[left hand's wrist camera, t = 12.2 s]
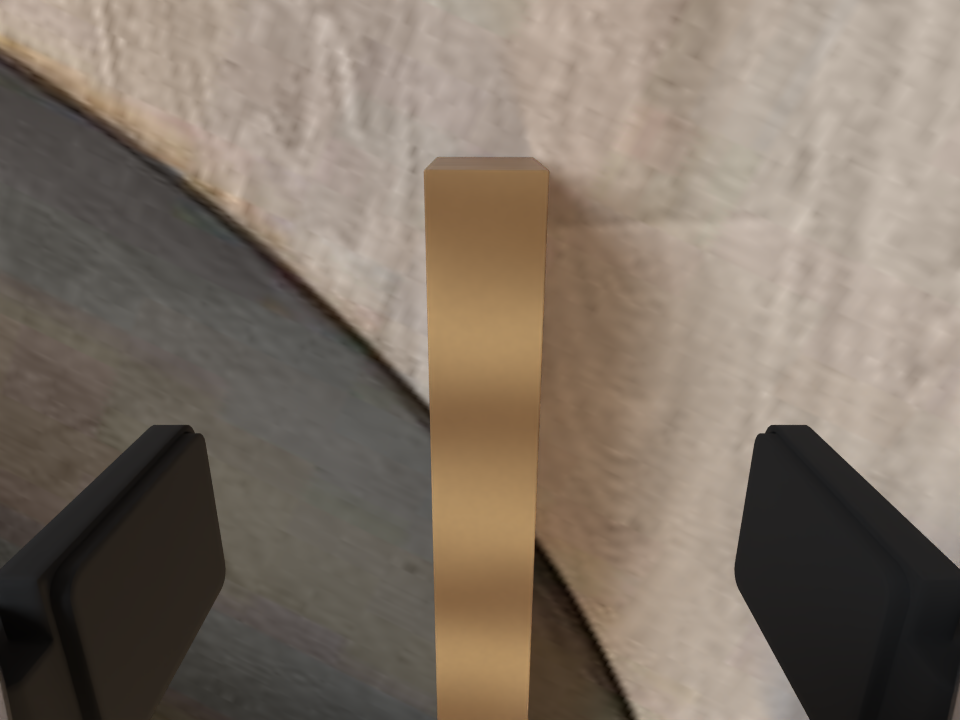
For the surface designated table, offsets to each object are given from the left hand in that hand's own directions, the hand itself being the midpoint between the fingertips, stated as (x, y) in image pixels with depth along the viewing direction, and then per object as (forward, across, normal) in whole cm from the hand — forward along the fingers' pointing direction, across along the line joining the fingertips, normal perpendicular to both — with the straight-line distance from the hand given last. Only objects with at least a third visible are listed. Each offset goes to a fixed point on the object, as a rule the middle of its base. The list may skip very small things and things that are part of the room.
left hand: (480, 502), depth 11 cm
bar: (+22, 0, -31) cm, 38 cm away
